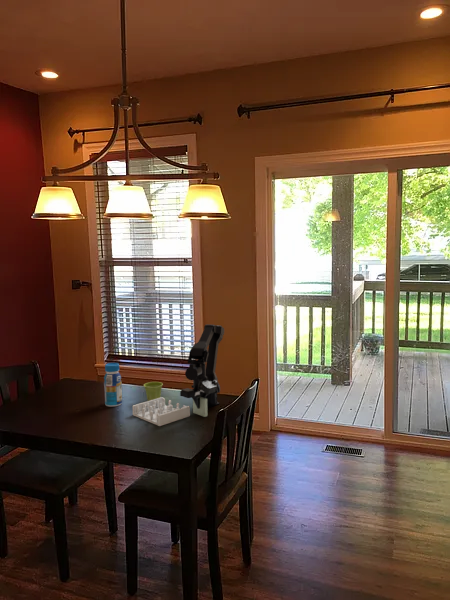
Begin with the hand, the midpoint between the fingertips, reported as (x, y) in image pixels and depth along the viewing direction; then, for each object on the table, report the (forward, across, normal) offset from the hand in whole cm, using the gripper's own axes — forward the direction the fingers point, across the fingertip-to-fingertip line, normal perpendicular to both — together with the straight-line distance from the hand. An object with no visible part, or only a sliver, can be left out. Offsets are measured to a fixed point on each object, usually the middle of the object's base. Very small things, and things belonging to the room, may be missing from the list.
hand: (200, 407), depth 216 cm
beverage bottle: (+3, -19, +42) cm, 46 cm away
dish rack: (+3, -13, +12) cm, 18 cm away
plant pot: (+3, -3, +31) cm, 31 cm away
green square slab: (+3, 0, 0) cm, 3 cm away
